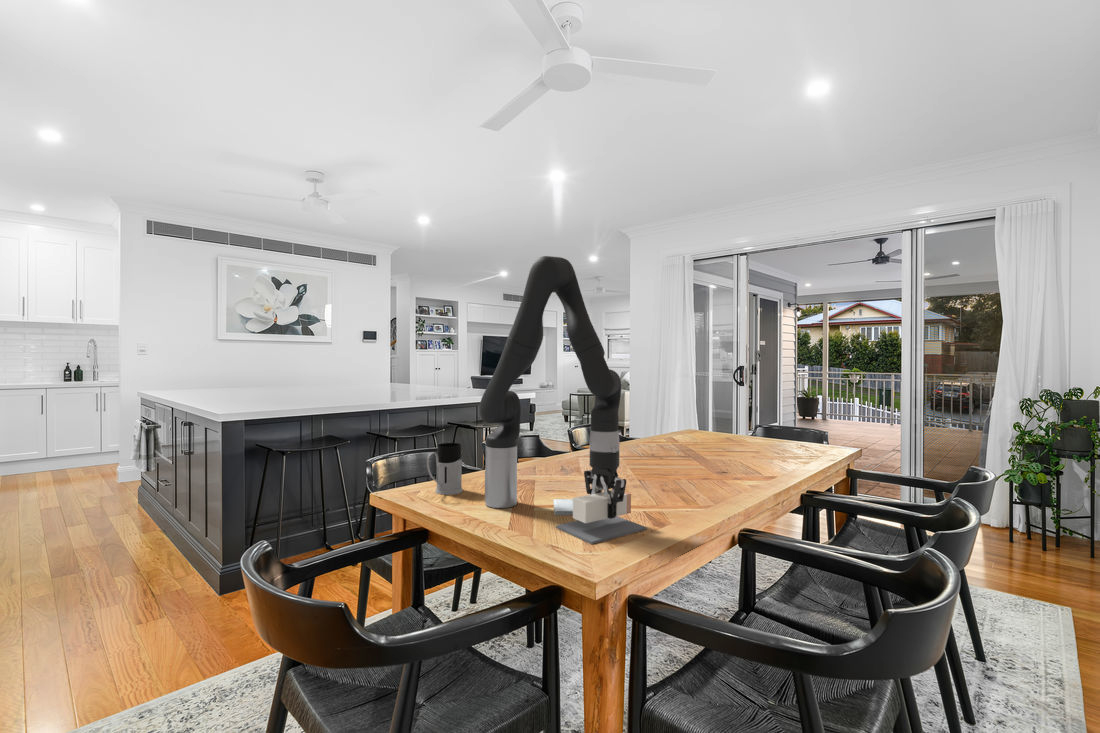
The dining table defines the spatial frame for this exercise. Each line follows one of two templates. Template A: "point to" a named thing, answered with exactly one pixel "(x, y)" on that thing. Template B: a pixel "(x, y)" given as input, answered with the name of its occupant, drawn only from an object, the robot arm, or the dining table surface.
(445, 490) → the grey coffee pot
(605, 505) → the capped block
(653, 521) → the dining table surface
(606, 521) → the rubber mat
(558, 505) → the hard drive
